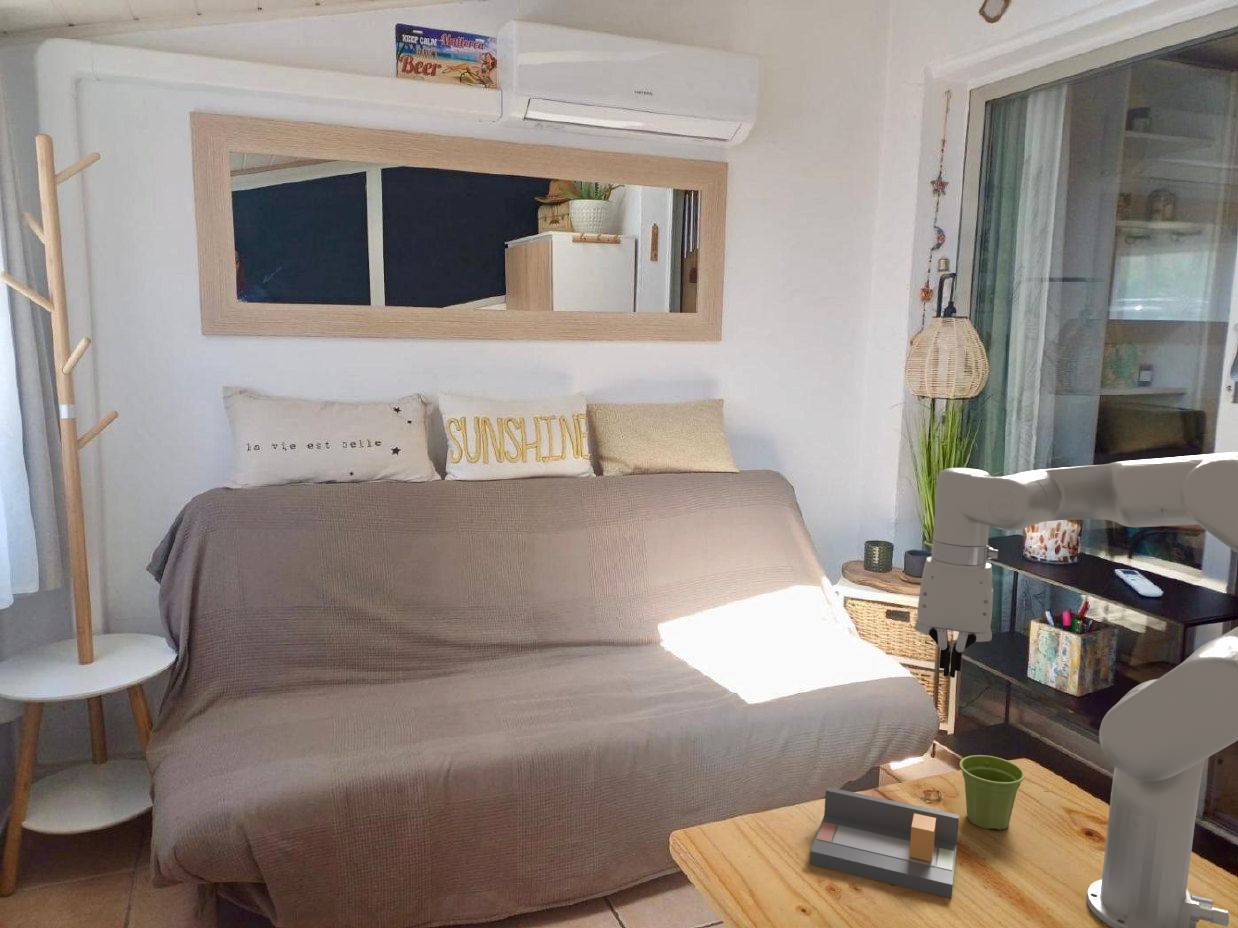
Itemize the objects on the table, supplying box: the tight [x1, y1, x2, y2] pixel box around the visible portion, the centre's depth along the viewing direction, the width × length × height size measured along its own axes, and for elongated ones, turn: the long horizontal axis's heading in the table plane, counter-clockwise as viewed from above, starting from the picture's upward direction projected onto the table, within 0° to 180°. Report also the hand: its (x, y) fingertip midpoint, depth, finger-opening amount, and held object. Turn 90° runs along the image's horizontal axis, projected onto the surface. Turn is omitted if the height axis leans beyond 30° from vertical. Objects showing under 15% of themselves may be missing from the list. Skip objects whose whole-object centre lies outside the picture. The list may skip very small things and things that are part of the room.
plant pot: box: [959, 754, 1026, 831], centre depth 143 cm, size 9×9×9 cm
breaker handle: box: [909, 813, 936, 862], centre depth 130 cm, size 3×4×4 cm
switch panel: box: [809, 786, 960, 899], centre depth 132 cm, size 19×12×6 cm, turn 67°
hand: (949, 673), depth 136 cm, fingers closed
